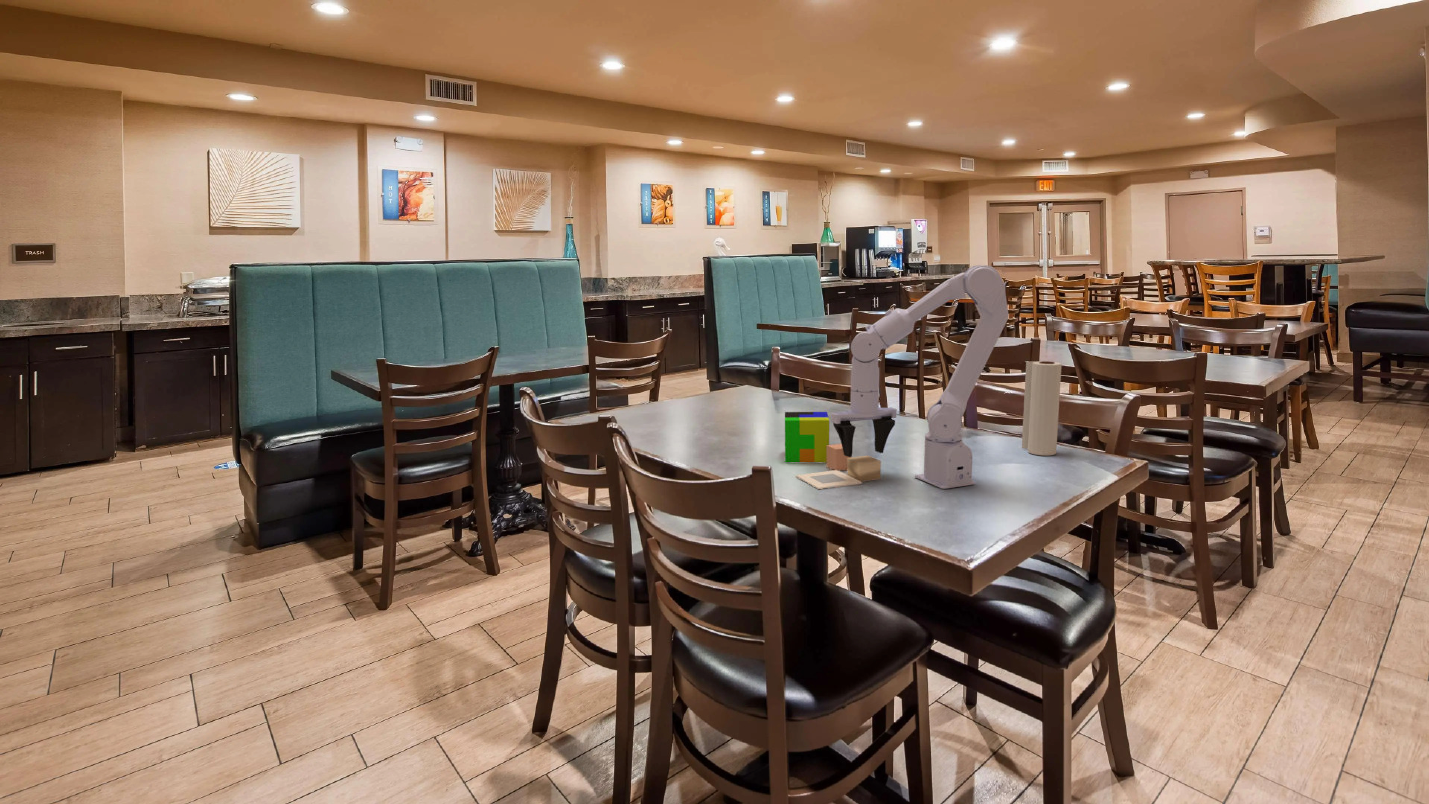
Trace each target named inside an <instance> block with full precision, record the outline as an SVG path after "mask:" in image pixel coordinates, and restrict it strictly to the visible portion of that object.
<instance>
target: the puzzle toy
mask: <svg viewBox="0 0 1429 804" xmlns="http://www.w3.org/2000/svg"><path fill="white" fill-rule="evenodd" d="M827 445H830V418H829V414H828V411H784V452H785V453H784V463H785V462H827Z"/></svg>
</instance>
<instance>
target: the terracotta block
mask: <svg viewBox="0 0 1429 804" xmlns="http://www.w3.org/2000/svg"><path fill="white" fill-rule="evenodd" d="M852 457H853V456H852ZM852 457H847V456H845V455H844V452H843V448H842V444H841V443H836V444H829V445H827V463H826V467H827V466H828V467H829V468H828V467H827V468H828V469H830V468H831V469H830V470H832V469H834V470H838V471H839V470H843V471H847V458H852Z"/></svg>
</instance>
